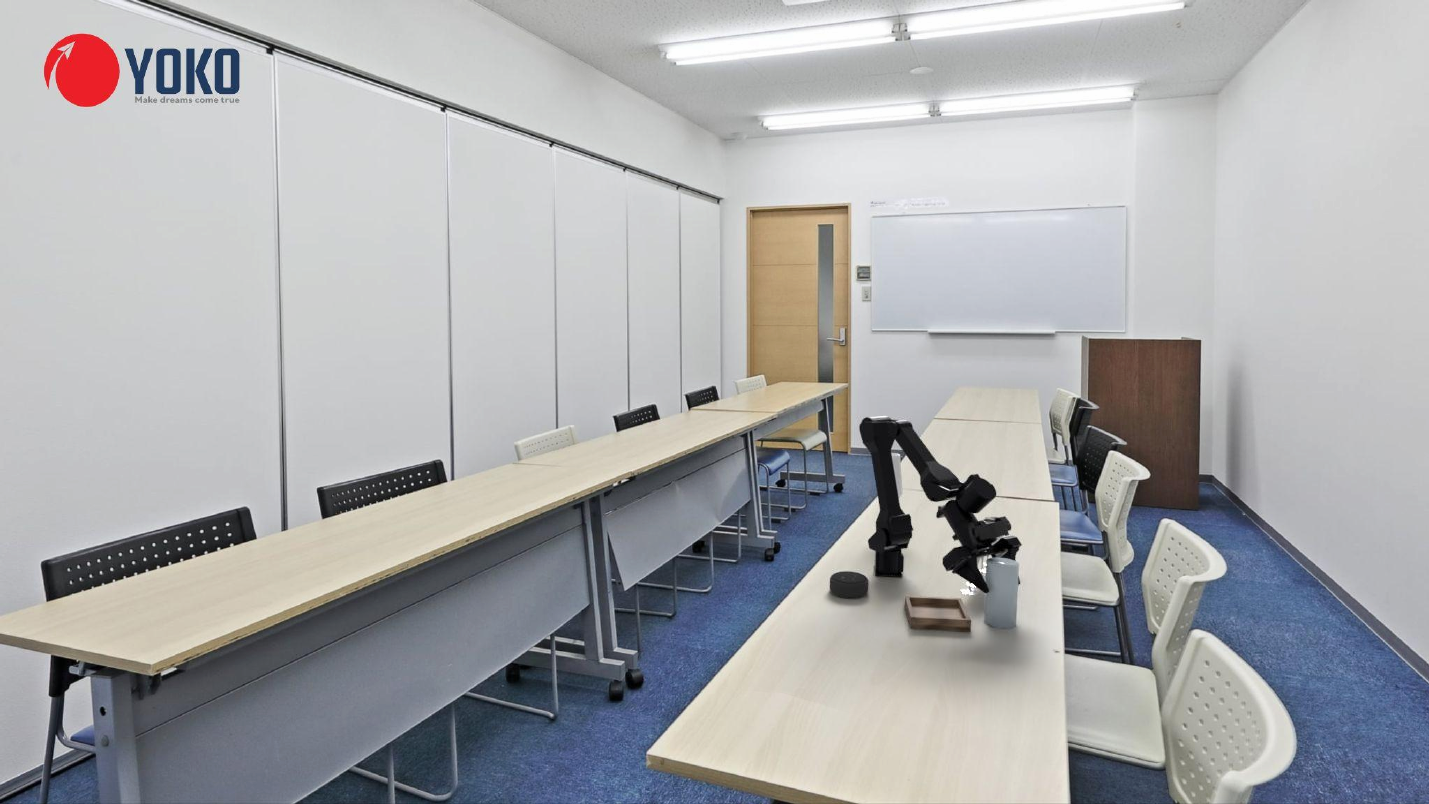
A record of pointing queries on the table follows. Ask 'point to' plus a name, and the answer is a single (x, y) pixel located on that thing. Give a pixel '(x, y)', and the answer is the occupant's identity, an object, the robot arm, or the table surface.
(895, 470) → the white tapered column
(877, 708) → the table surface
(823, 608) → the table surface
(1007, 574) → the domed blue cylinder
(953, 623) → the tray
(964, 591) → the goblet set
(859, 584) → the smart speaker
